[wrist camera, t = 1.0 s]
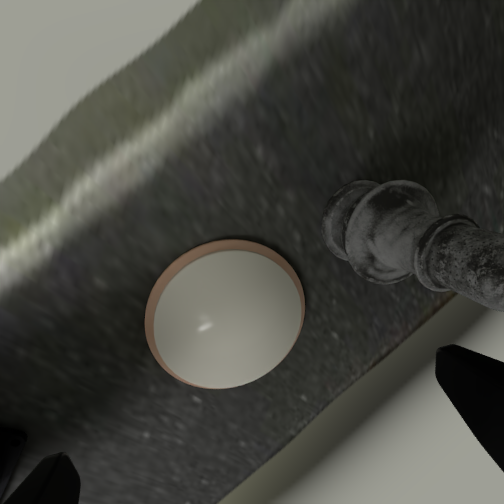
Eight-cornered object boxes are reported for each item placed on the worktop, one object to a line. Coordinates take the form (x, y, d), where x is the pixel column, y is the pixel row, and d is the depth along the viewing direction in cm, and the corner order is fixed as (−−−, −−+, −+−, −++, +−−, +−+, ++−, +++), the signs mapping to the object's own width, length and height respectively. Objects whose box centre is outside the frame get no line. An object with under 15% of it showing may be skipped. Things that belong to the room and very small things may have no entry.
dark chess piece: (365, 279, 23) (553, 396, 12) (299, 239, 21) (456, 337, 10) (414, 205, 23) (659, 259, 12) (351, 156, 21) (579, 164, 10)
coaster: (259, 400, 24) (263, 410, 23) (117, 360, 20) (115, 371, 19) (328, 275, 23) (336, 281, 22) (189, 210, 19) (191, 213, 18)
